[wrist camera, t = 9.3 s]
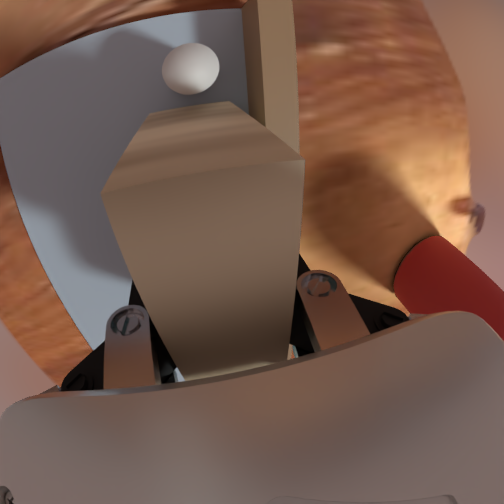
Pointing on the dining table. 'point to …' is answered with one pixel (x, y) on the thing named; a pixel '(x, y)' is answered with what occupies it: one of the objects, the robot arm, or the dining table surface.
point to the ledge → (128, 128)
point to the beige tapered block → (211, 234)
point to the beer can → (447, 283)
